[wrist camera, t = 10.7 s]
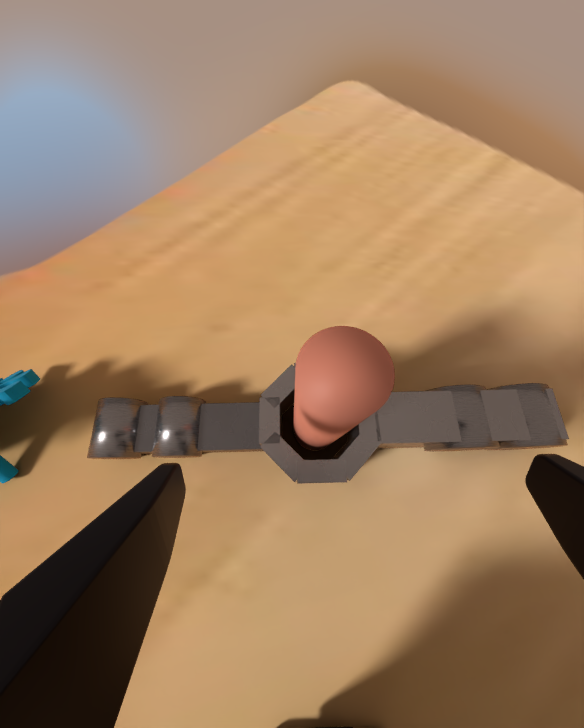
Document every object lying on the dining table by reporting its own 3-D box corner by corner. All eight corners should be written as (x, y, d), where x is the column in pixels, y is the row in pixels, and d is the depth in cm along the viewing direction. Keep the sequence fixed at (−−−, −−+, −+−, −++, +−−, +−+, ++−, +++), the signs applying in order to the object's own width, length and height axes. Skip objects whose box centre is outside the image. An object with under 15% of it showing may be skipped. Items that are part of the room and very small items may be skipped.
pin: (336, 450, 21) (401, 418, 8) (293, 451, 21) (296, 421, 8) (333, 407, 22) (387, 324, 10) (292, 408, 22) (294, 327, 10)
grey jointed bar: (538, 474, 20) (599, 475, 16) (100, 486, 20) (53, 489, 16) (510, 376, 23) (557, 356, 19) (118, 385, 22) (81, 366, 18)
